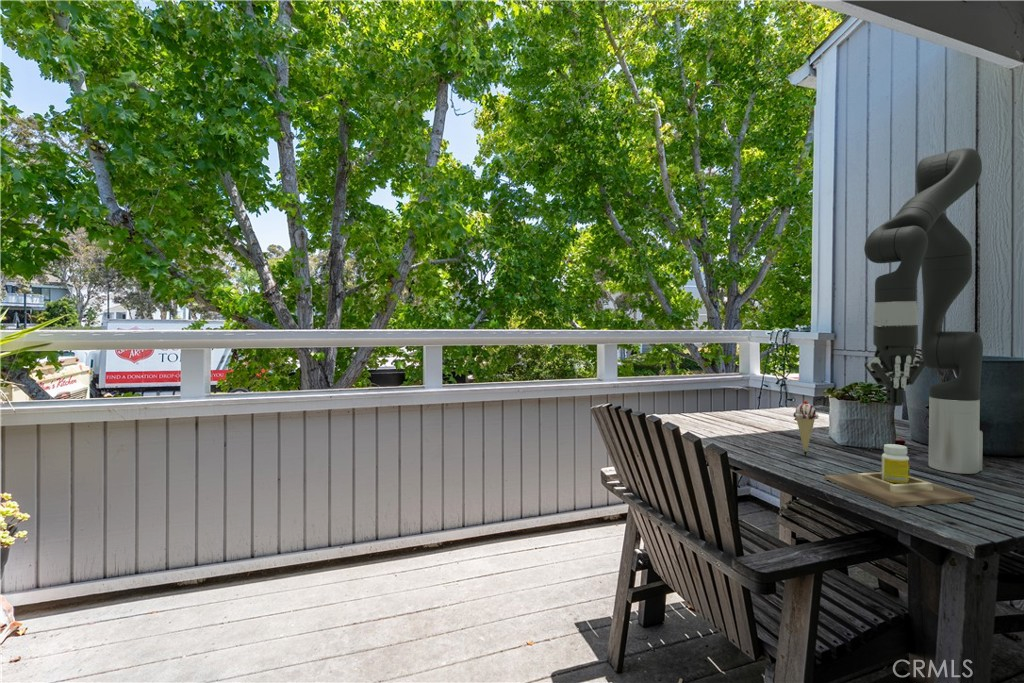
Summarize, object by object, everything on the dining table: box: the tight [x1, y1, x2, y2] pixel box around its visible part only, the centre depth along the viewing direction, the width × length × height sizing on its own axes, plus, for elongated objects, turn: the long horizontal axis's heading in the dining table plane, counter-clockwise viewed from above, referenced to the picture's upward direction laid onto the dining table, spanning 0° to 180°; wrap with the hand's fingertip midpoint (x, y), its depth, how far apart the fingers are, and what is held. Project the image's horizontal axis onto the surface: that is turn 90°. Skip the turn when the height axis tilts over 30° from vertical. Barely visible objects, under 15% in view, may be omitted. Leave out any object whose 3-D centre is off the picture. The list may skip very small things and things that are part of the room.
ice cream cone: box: [793, 400, 819, 457], centre depth 136 cm, size 6×6×15 cm
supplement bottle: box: [881, 443, 910, 484], centre depth 108 cm, size 5×5×8 cm
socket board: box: [824, 471, 976, 508], centre depth 109 cm, size 18×18×2 cm
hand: (894, 405), depth 108 cm, fingers closed
